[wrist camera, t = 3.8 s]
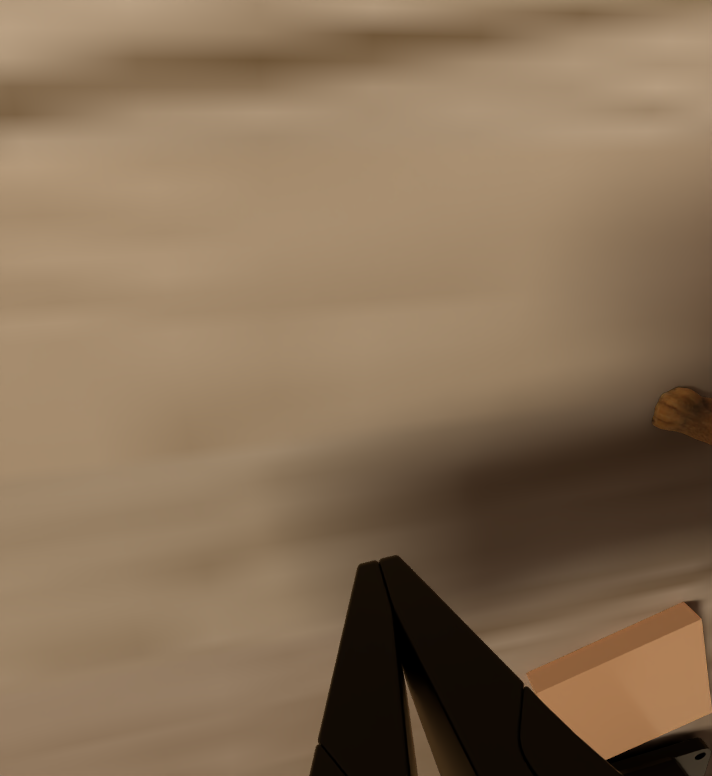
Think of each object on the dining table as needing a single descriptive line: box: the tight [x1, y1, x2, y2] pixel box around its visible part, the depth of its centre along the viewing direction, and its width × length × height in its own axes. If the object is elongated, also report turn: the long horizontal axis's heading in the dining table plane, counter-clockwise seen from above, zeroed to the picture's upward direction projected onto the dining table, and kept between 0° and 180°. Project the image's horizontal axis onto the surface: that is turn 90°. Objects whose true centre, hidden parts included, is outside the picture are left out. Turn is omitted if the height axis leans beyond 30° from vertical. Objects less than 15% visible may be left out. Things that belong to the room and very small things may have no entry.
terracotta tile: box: [526, 602, 712, 760], centre depth 16 cm, size 6×6×1 cm
